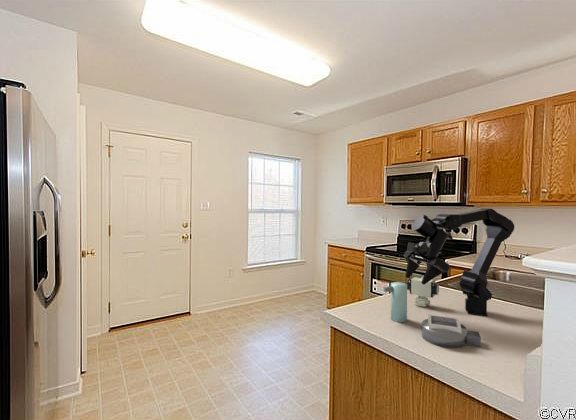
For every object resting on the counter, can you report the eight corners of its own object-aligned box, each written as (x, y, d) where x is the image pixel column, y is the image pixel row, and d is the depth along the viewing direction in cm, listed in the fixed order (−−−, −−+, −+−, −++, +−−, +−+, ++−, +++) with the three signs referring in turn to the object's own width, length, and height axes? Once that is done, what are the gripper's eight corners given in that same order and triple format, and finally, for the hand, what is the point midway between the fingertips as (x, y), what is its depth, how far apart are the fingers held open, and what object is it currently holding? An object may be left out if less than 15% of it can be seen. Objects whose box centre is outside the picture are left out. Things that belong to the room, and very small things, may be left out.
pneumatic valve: (436, 310, 119) (436, 280, 119) (406, 304, 127) (406, 275, 126) (439, 306, 123) (439, 277, 123) (410, 300, 131) (410, 273, 131)
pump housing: (401, 316, 113) (401, 281, 113) (410, 321, 108) (410, 285, 108) (381, 317, 112) (381, 283, 112) (389, 323, 106) (389, 287, 106)
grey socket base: (476, 335, 96) (476, 318, 96) (483, 353, 85) (483, 334, 84) (421, 327, 103) (421, 311, 102) (421, 343, 91) (421, 325, 91)
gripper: (402, 230, 119) (383, 265, 117) (435, 235, 101) (414, 276, 99) (423, 244, 121) (405, 278, 120) (459, 251, 103) (438, 291, 101)
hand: (414, 280), depth 110 cm, fingers open, 9 cm apart
